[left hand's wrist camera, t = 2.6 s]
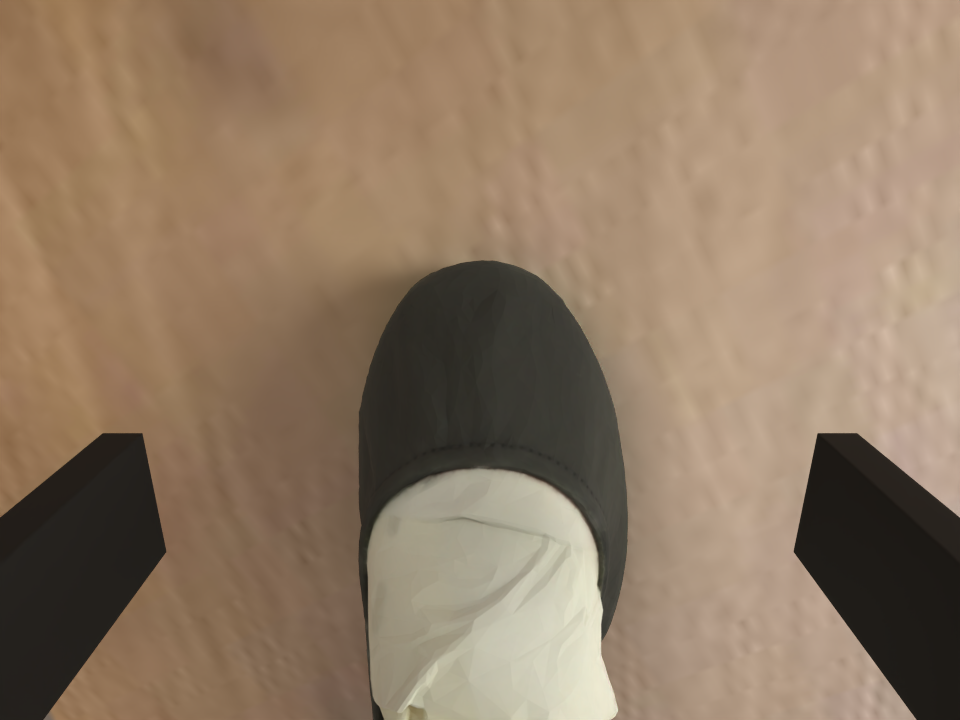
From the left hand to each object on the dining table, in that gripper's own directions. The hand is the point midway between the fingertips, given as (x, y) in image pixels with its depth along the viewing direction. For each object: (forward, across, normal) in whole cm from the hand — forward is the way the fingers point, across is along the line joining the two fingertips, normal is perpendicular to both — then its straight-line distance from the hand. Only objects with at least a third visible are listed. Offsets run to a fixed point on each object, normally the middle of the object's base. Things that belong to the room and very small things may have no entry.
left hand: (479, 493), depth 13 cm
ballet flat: (+8, 0, -9) cm, 12 cm away
